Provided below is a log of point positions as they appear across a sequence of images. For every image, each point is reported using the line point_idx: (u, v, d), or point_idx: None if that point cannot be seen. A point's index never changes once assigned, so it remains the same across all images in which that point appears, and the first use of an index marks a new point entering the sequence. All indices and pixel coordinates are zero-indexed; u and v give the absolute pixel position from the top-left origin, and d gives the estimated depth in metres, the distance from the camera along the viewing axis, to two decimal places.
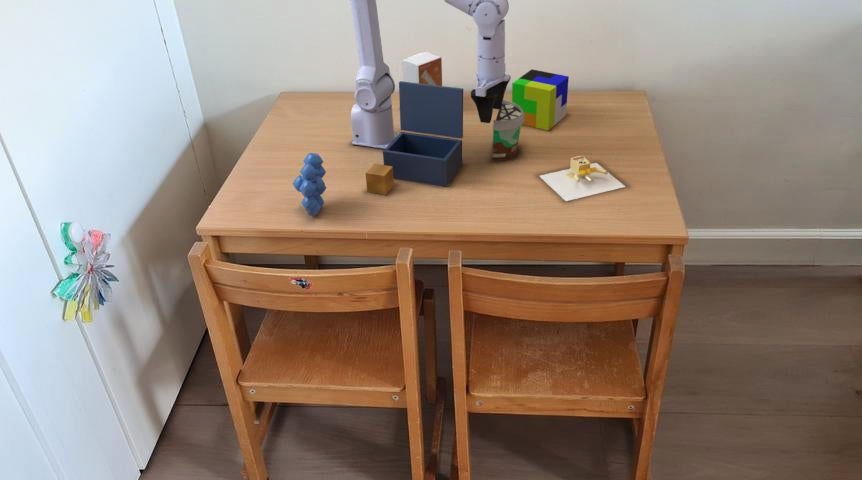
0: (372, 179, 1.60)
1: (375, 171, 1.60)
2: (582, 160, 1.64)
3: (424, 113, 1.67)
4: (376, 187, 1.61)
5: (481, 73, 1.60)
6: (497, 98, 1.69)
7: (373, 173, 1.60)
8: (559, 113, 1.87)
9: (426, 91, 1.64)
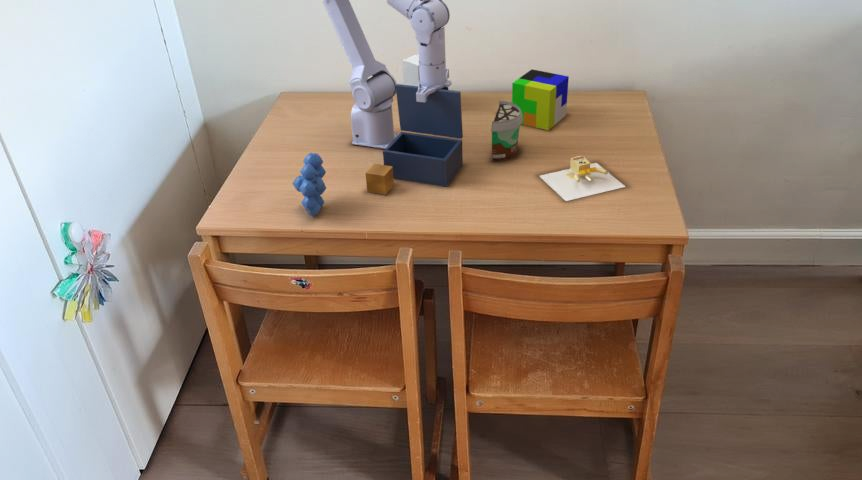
0: (372, 179, 1.60)
1: (375, 171, 1.60)
2: (582, 160, 1.64)
3: (423, 115, 1.66)
4: (376, 187, 1.61)
5: (422, 79, 1.62)
6: None
7: (373, 173, 1.60)
8: (559, 113, 1.87)
9: None
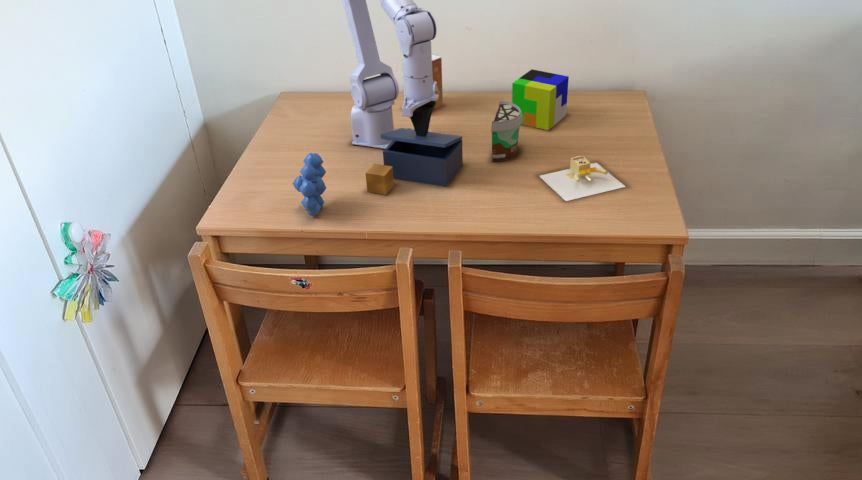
0: (372, 179, 1.60)
1: (375, 171, 1.60)
2: (582, 160, 1.64)
3: None
4: (376, 187, 1.61)
5: (408, 93, 1.56)
6: None
7: (373, 173, 1.60)
8: (559, 113, 1.87)
9: None
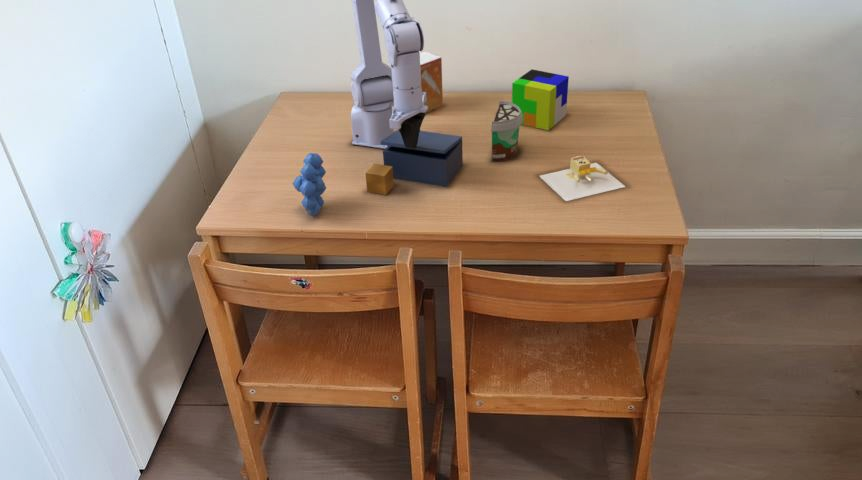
0: (372, 179, 1.60)
1: (375, 171, 1.60)
2: (582, 160, 1.64)
3: None
4: (376, 187, 1.61)
5: (396, 105, 1.52)
6: None
7: (373, 173, 1.60)
8: (559, 113, 1.87)
9: None
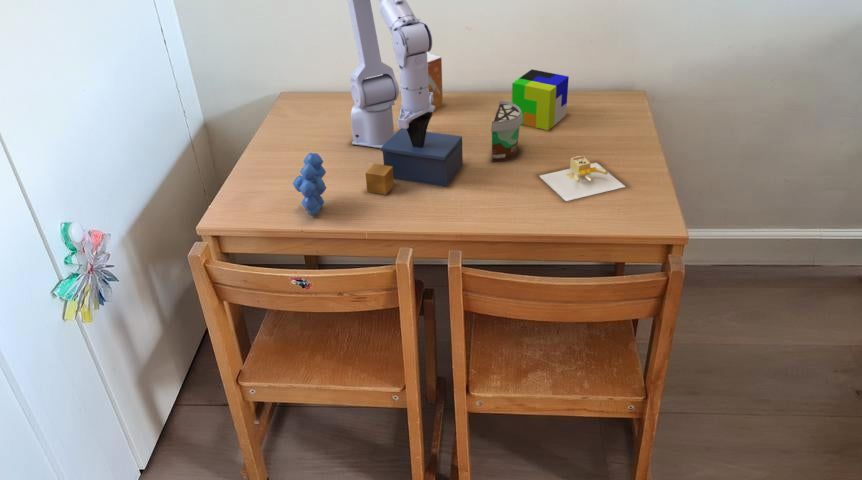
0: (372, 179, 1.60)
1: (375, 171, 1.60)
2: (582, 160, 1.64)
3: None
4: (376, 187, 1.61)
5: (404, 104, 1.56)
6: None
7: (373, 173, 1.60)
8: (559, 113, 1.87)
9: None
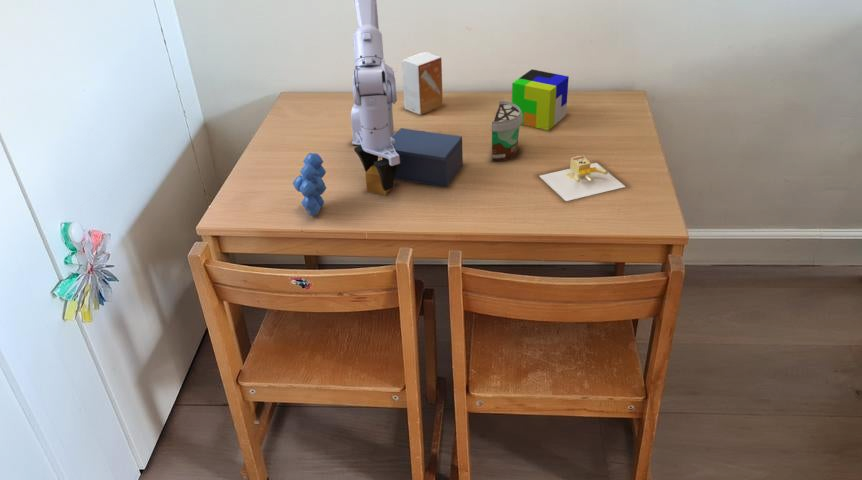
0: (372, 179, 1.60)
1: (375, 171, 1.61)
2: (582, 160, 1.64)
3: None
4: (376, 187, 1.61)
5: (376, 145, 1.55)
6: None
7: (373, 173, 1.60)
8: (559, 113, 1.87)
9: None
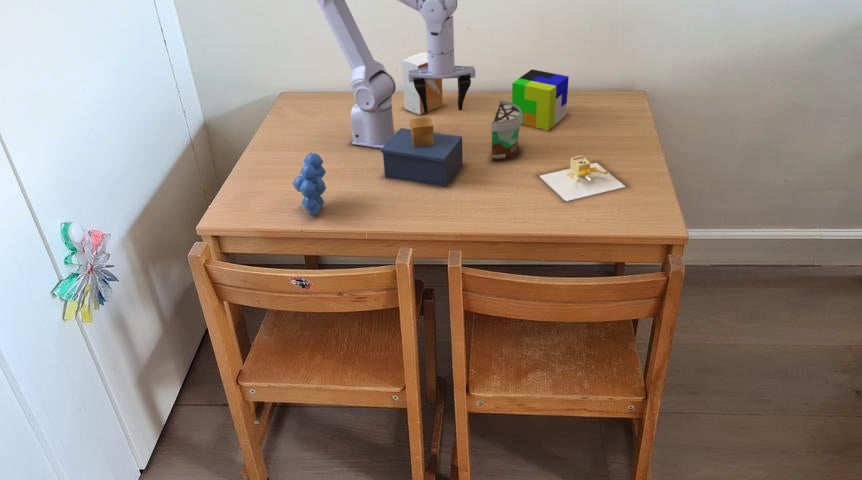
0: (419, 133, 1.61)
1: (420, 124, 1.62)
2: (582, 160, 1.64)
3: None
4: (424, 140, 1.62)
5: (453, 66, 1.63)
6: None
7: (420, 126, 1.61)
8: (559, 113, 1.87)
9: None
